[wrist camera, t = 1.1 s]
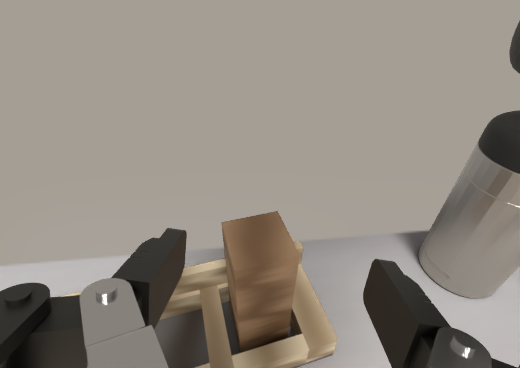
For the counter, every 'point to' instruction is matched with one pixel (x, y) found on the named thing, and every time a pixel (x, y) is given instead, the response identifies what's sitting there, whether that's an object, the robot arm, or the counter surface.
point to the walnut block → (260, 278)
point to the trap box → (223, 330)
